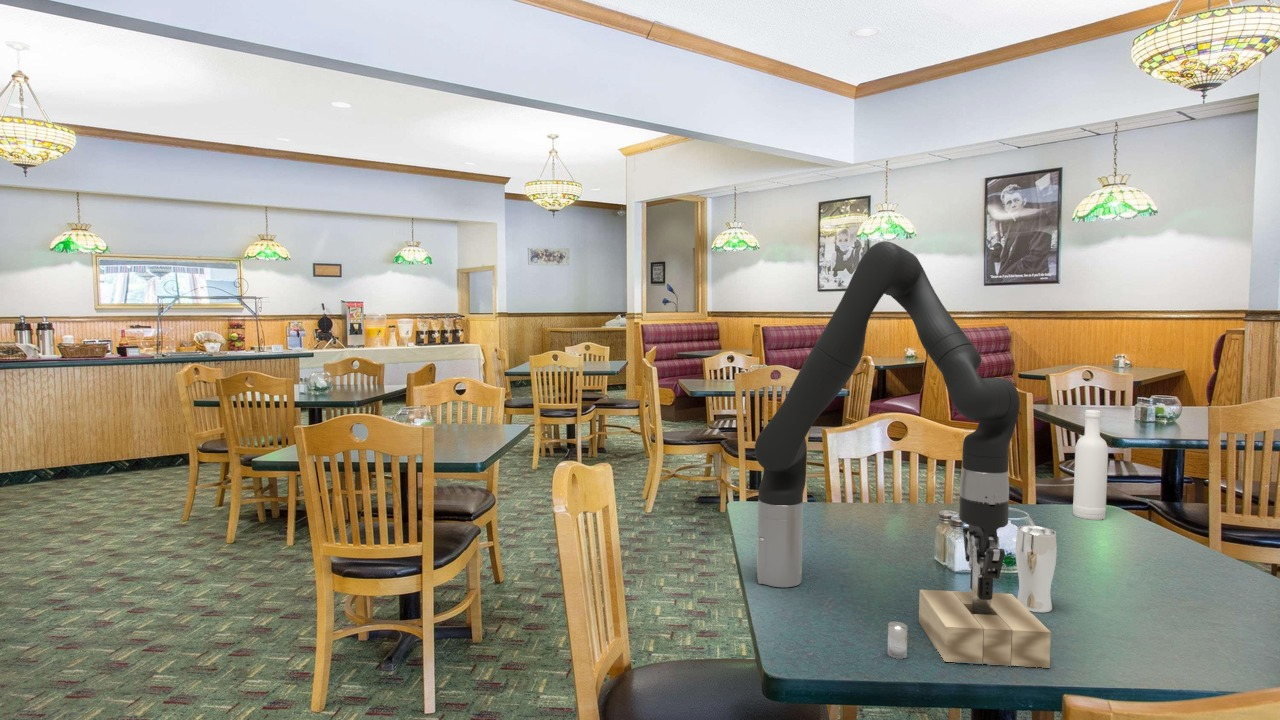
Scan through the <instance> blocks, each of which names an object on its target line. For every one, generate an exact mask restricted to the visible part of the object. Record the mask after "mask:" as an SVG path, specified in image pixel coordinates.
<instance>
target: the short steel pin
mask: <svg viewBox="0 0 1280 720" xmlns="http://www.w3.org/2000/svg"><path fill="white" fill-rule="evenodd" d="M887 625H888V626H887V655H888V657H890V656H891V657H890V658H892V657H893V658H892V659H895V658H896V660H904V659H903V658H905V659H907V657H908V655H907V654H908V651H907V650H908V625H907V624H906V623H903V622H900V621H890V622H888V624H887Z"/></svg>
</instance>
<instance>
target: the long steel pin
mask: <svg viewBox="0 0 1280 720" xmlns="http://www.w3.org/2000/svg"><path fill="white" fill-rule="evenodd" d="M980 558H981V559H985V557H980ZM988 571H990V569H989V570H988ZM977 589H978V564H977V563H976V562H975V561H974V546H973V577H972V590H971V592H972V611H971V614H983V615H991V600H981V599H979V598H978V596H977Z"/></svg>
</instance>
